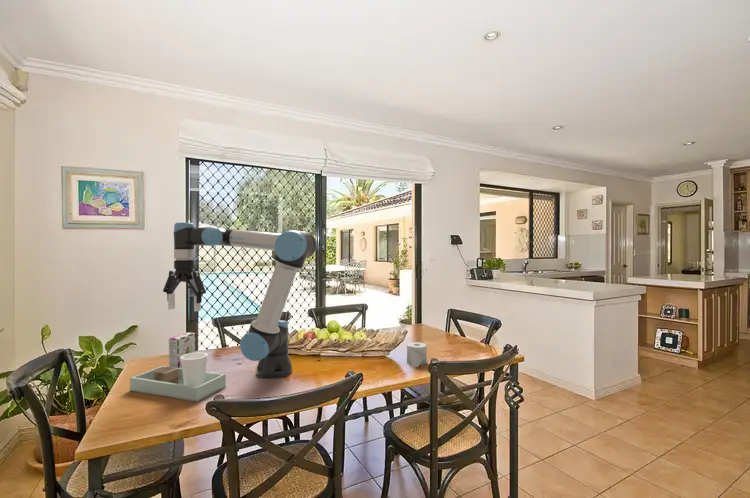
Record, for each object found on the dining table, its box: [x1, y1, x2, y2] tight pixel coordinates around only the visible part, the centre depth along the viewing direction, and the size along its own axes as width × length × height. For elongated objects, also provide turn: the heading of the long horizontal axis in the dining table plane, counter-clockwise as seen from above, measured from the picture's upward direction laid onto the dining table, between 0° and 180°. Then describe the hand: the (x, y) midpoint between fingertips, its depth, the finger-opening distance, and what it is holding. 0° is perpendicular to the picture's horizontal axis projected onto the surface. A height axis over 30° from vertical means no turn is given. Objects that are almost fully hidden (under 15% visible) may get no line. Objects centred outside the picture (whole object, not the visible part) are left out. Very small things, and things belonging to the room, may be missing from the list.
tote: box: [129, 365, 227, 403], centre depth 147 cm, size 32×15×5 cm, turn 72°
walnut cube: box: [154, 367, 178, 384], centre depth 148 cm, size 6×6×6 cm
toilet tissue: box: [406, 341, 428, 368], centre depth 178 cm, size 9×13×9 cm
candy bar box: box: [168, 332, 197, 368], centre depth 165 cm, size 11×5×16 cm, turn 168°
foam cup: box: [180, 351, 209, 387], centre depth 144 cm, size 10×9×13 cm
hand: (184, 310), depth 158 cm, fingers open, 13 cm apart
